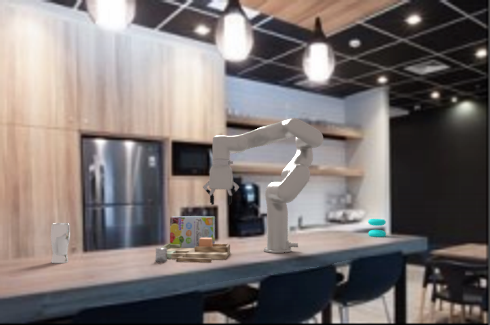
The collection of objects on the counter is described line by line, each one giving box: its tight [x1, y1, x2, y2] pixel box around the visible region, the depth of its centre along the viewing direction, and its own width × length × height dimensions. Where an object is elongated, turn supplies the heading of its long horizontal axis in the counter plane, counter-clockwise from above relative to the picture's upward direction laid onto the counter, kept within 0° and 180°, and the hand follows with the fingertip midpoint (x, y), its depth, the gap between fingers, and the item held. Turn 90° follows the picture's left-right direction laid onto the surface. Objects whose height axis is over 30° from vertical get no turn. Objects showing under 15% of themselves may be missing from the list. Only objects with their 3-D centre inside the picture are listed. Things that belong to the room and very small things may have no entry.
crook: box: [175, 256, 213, 263], centre depth 167 cm, size 14×5×2 cm, turn 80°
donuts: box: [367, 218, 387, 238], centre depth 248 cm, size 10×10×10 cm
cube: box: [199, 238, 213, 247], centre depth 182 cm, size 5×5×5 cm
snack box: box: [169, 215, 216, 248], centre depth 202 cm, size 21×6×15 cm, turn 84°
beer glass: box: [50, 222, 71, 265], centre depth 164 cm, size 7×7×15 cm
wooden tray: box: [159, 242, 231, 260], centre depth 179 cm, size 28×16×4 cm, turn 86°
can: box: [155, 247, 168, 263], centre depth 166 cm, size 4×4×5 cm
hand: (220, 204), depth 182 cm, fingers open, 6 cm apart
